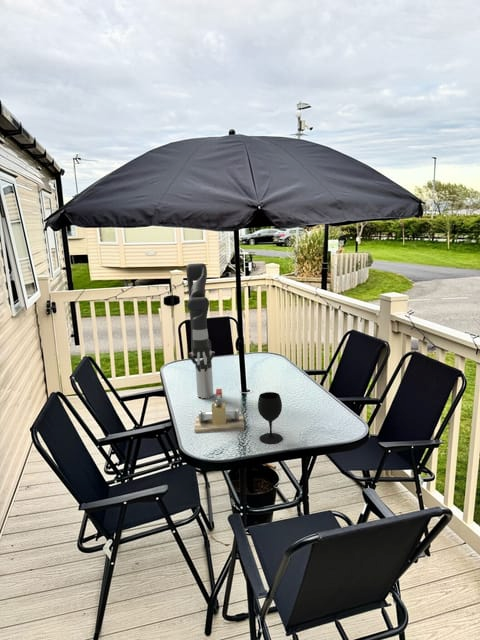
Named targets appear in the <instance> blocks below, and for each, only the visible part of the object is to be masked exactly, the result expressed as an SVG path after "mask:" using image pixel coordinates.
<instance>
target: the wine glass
mask: <svg viewBox="0 0 480 640" xmlns="http://www.w3.org/2000/svg"><path fill="white" fill-rule="evenodd" d="M258 396H259V397H258V401H257V410H258V413H259V415H260V416H261V417H262V418H263V420H265V421H267V422H268V424H269V432H267V433H263V434H260V436H259V441H260V442H261V443H263V444H265V445H266V444H267V445H275V444H279V443H280V442H282V441H283V440H284V438H283V436H282V435H281V434H280V433H277V432H273V429H272V428H273V422H274V421H275V420H277V419H278V418H279V416H280V415H281V412H282V409H283V404H282V398H281V396H280V394H279V393H278V392H274V391H267V392H262V393H260V394H259V395H258Z"/></svg>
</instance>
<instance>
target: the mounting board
mask: <svg viewBox="0 0 480 640" xmlns="http://www.w3.org/2000/svg"><path fill="white" fill-rule="evenodd" d="M244 423H245V422H244V414H243V413H239V421H237V420H235V423H231V420H226V424H215V425H213V422H212V421H208V424H204V422H202V423H199V415H198V416H196V419H195V425H194V431H193V433H195V432H196V433H210V431H214V432H228V431H230V432H231V431H244V430H245V424H244ZM207 431H208V432H207Z"/></svg>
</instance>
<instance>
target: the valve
mask: <svg viewBox="0 0 480 640" xmlns="http://www.w3.org/2000/svg"><path fill="white" fill-rule="evenodd" d="M226 407H227V405H226V402H222V405H221V406H216V405H215V402H214V403H212V404H211V411H201V410H199V411H198V416H199V423H202V422H204V424H208V421H212V422H213V425H215V424H226V420H231V423H235V420H237V421H239V414H240V409H239V408H236V410H227V409H226Z"/></svg>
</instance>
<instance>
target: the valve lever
mask: <svg viewBox="0 0 480 640" xmlns="http://www.w3.org/2000/svg"><path fill="white" fill-rule="evenodd" d="M215 398H216V399H215V400H214V403H215V405H216V406H221V405H222V403H223V400H222V399H223V389H222V388H216V390H215Z"/></svg>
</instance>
